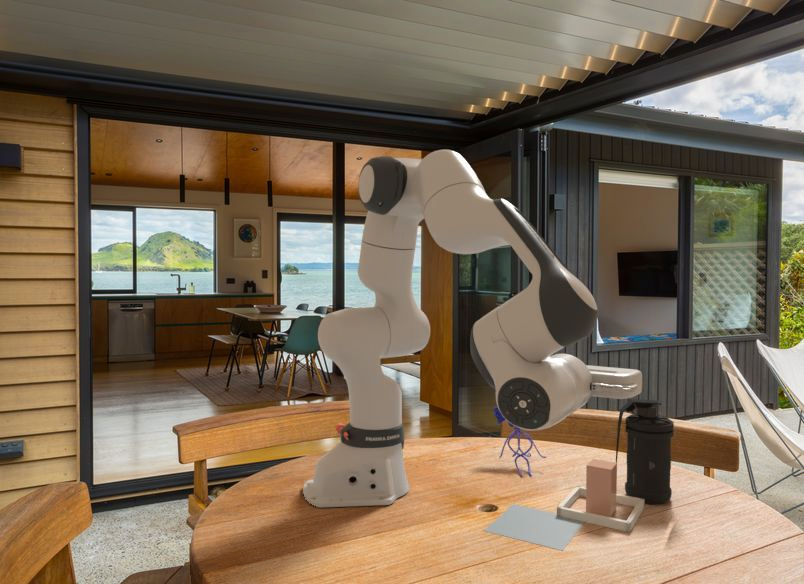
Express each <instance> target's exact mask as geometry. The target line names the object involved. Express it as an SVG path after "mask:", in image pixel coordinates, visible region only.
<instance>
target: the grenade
mask: <svg viewBox="0 0 804 584" xmlns="http://www.w3.org/2000/svg"><path fill="white" fill-rule="evenodd" d="M661 403H662V402H660V401H659V400H652V399H637V398H635V399H633V398H630V400H629V401H627V403H625V404H624V405H623V406H622V407H621V408H620V409H619V414H618V421H617V431H616V432H617V433H616V446H615V448H616V449H615V451H616V452H615V463H617V464H618V452H619V445H620V444H619V443H620V435H621V424H622V420H623V415H624V413H625V411H626V412H627V413H628V414H630V415H629V416H626V417H625V433H627V437H626V438H627V442H626V443H627V445H626V446H627V449H626V482H625V483H624V490H625V494H626V496H631V497H636V498H641V499H645V504H652V505H653V504H654V505H655V504H663V503H666V502H668V501H670V499H671V498H672V491H673V490H672V488H671V469H672V453H671V450H672V437H673V436H674V428H675V427H674V426H675V425H674V424H675V423H674V421H673V420H671V419H670V418H669V417H667V416H664V415H662V416H660V415H659V414H658V413H657V411H658V405H659V406H661V405H662V404H661Z"/></svg>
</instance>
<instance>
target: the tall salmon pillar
mask: <svg viewBox="0 0 804 584" xmlns="http://www.w3.org/2000/svg"><path fill="white" fill-rule="evenodd" d="M585 472H586V474H585V475H586V480H585V481H586V483H585V484H586V485H585V488H586V497H585V512H588V513H593V514H597V515H602V516H606V517H611V518H613V515H615V512H616V511H617V503H616V494H618V493H617V491H618V490H617V487H618V485H617V481H618V480H617V478H618V477H617V476H618V462H617V463H616V461H608V460H602V459H595V458H592V459H591V460H590V461H589V462H588V463H587V464H586V471H585Z"/></svg>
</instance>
